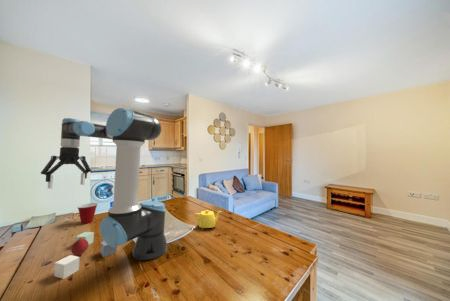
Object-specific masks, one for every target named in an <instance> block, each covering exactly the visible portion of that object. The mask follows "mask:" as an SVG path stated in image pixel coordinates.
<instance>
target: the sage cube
mask: <svg viewBox="0 0 450 301" xmlns="http://www.w3.org/2000/svg"><path fill="white" fill-rule="evenodd" d="M80 237H83V239H85V240H87V241H88V244H89V245H91V244H92V243H94V238H95V232H94V231H84V232H81V233H80V234H77V235H76V236H75V242H76V241H77V240H78V239H79V238H80ZM75 242H74V243H75Z"/></svg>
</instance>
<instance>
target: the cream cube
mask: <svg viewBox="0 0 450 301" xmlns="http://www.w3.org/2000/svg"><path fill="white" fill-rule="evenodd" d="M80 258H81V257H80V256H78V255H74V254H73V255H72V254H70V255H67V256H65V257H63V258H61V259H59V260H57V261H55V262H54V268H53V269H54V270H53V276H54V277H56V278H60V279H62V280H63V279H66V278H68V277H69V276H71V275H72V274H74V273H76V272H77V271H79V270H80Z"/></svg>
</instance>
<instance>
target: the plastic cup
mask: <svg viewBox="0 0 450 301" xmlns="http://www.w3.org/2000/svg"><path fill="white" fill-rule="evenodd" d="M97 206H98V202H90V203H84V204H80V205H77V207H76V208H77V210H78V214H79V219H80V223H81V225H89V224H92V223H93V221H94V218H95V214H96V211H97V210H96V209H97Z"/></svg>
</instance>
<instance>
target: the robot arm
mask: <svg viewBox="0 0 450 301" xmlns="http://www.w3.org/2000/svg"><path fill="white" fill-rule="evenodd" d="M61 121H62V122H61V130H60V131H61V132H60V133H61V135H60V148H59V156H57V155H51V156H50V160H49V161H48V162H47V164H46V165H45V166H44V167H43V169H42V170H41V171H40V175H45V182H47V189H49V190H51V189H53V184H54V182H53V181H54V175H53V174H54V173H55V172H56V171H57V170H58V169H60V168H61V167H63V165H75V166H76V167H77V168H78V169H79V170H80V171H81V172H80V173H81V174H80V183H79V184H80V185H82V186H85V184H86V183H85V181H86V179H87V178H88V173H91V172H92V170H91V168H90V165H89V163H88V162H87V160H86V156H85V155H84V156H83V155H81V156H80V155H79V153H80V148H79V147H80V140H81V138H80V137H88V138H89V137H90V138H98V139H106V140H112V143H114V144H115V146H116V154H115V172H114V188H113V205H112V206H111V207H109V208H108V214H107V216H105V217H104V218H102V220H101V221H100V224H99V233H100V235H101V238H102V241H105V243H106V244H107V245H109V246H111V247H116V246H117V247H119V246H121V245H125V244H127V242H130V241H132V240H134V239H136V240H135V244H134V246H133V248H132V257H133V259H135V260H138V261H151V260H155V259H157V258H159V257H161V256H163V255H164V254H165V253H166V252H167V250H168V242H167V243H166V241H167V237H166V235H165V224H166V223H165V221H166V204H165V203H164V202H162V201H141V202H140V203H139V202H138V201H139V200H138V199H139V181H140V179H139V178H140V160H141V147H142V146H143V145H144V144H145V141H153V140H155V139H157V138H159V137H160V135H161V133H162V124H161V122H160V121H159V120H158V119H157V118H156V117H154V116H152V115H148V114H146V113H142V112H139V111H135V110H133V109H130V108H129V109H128V108H124V107H118V108H116V109H114V110H113V111H111V113H110V114H109V116H108V117H107V120H106V123H105V125H103V124H98V123H92V122H90V121H88V120H80V119H76V118H69V117H65V118H62V120H61ZM57 160H59V161H58V162H57V163H56V164H55V162H56V161H57ZM79 161H80V162H81V163H80V162H79ZM54 164H55V165H54ZM53 165H54V166H53ZM52 166H53V167H52ZM117 247H116V248H117Z"/></svg>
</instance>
